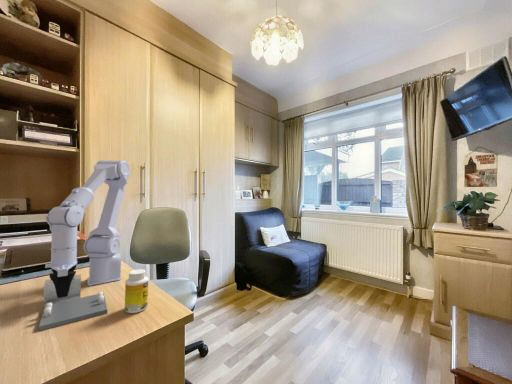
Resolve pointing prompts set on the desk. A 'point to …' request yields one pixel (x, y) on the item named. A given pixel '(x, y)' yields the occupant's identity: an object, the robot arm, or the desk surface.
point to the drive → (52, 297)
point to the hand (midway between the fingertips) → (63, 293)
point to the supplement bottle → (136, 291)
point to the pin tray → (72, 310)
